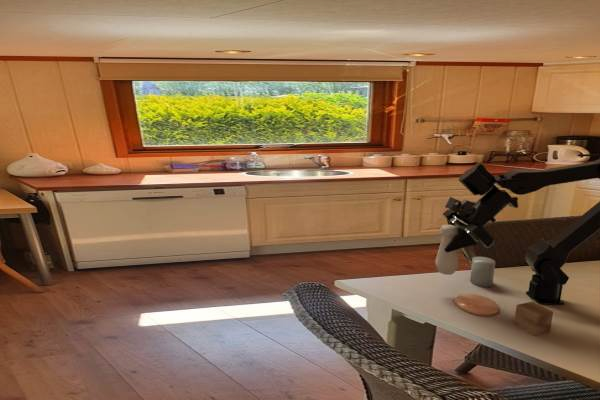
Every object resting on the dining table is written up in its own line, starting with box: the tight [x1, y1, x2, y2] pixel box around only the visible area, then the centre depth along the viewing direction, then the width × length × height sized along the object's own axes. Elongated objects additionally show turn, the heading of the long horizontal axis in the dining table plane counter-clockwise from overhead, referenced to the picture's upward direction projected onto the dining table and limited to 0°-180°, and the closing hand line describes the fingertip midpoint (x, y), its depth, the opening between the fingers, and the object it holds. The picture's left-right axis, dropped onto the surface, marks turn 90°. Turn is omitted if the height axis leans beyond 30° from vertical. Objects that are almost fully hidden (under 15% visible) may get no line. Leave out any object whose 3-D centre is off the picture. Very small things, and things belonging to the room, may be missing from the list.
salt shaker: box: [434, 224, 459, 276], centre depth 96 cm, size 6×6×13 cm
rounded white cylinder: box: [469, 256, 496, 288], centre depth 105 cm, size 6×6×7 cm
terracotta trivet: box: [454, 293, 500, 317], centre depth 92 cm, size 10×10×1 cm
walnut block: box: [513, 300, 554, 336], centre depth 82 cm, size 5×5×5 cm
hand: (442, 248), depth 96 cm, fingers closed on salt shaker, 3 cm apart
